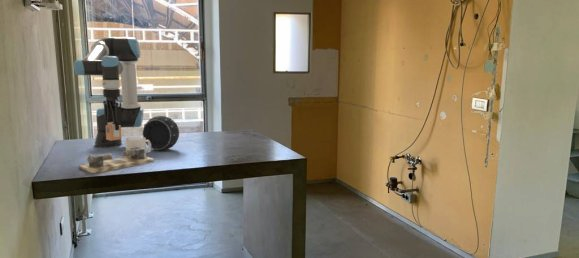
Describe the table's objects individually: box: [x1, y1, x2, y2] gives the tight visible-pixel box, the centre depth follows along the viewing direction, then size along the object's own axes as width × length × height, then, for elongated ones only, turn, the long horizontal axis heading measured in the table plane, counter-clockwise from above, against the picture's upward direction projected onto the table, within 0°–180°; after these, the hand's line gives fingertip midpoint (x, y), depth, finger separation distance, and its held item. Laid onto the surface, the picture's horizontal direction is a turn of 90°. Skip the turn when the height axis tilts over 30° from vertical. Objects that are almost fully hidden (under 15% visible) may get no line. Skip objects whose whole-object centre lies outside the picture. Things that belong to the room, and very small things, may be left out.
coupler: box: [106, 125, 122, 141], centre depth 214 cm, size 4×6×7 cm
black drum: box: [142, 115, 180, 152], centre depth 251 cm, size 11×20×20 cm, turn 78°
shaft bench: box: [78, 148, 155, 174], centre depth 217 cm, size 32×14×6 cm, turn 141°
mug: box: [125, 136, 152, 157], centre depth 236 cm, size 14×10×11 cm
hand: (113, 135), depth 215 cm, fingers closed on coupler, 4 cm apart
